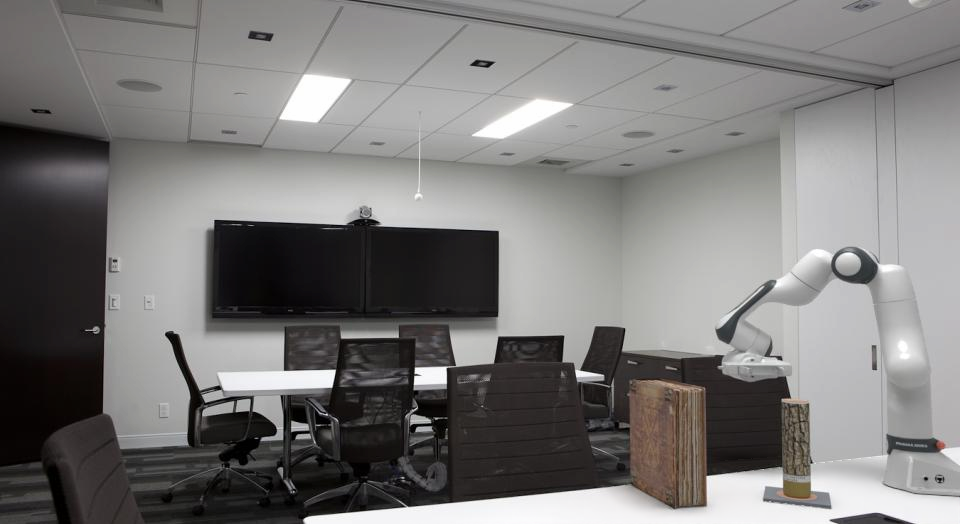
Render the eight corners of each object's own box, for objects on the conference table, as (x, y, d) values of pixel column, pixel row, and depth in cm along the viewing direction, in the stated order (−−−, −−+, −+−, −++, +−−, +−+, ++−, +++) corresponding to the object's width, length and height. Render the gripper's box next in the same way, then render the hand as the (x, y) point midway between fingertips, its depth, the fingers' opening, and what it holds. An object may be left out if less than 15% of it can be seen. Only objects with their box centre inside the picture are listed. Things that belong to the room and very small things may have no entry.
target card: (829, 495, 189) (829, 492, 189) (831, 508, 176) (831, 505, 177) (765, 488, 196) (765, 485, 196) (763, 501, 183) (763, 497, 183)
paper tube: (814, 499, 181) (812, 402, 183) (785, 497, 183) (784, 401, 185) (807, 493, 188) (806, 399, 190) (780, 491, 190) (779, 398, 191)
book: (707, 507, 177) (705, 387, 179) (674, 509, 175) (673, 388, 177) (659, 483, 202) (658, 378, 204) (629, 484, 200) (629, 378, 202)
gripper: (715, 357, 222) (730, 360, 208) (780, 357, 222) (799, 360, 208) (715, 377, 222) (730, 381, 208) (780, 377, 221) (800, 382, 207)
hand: (765, 371), depth 208 cm, fingers open, 8 cm apart
